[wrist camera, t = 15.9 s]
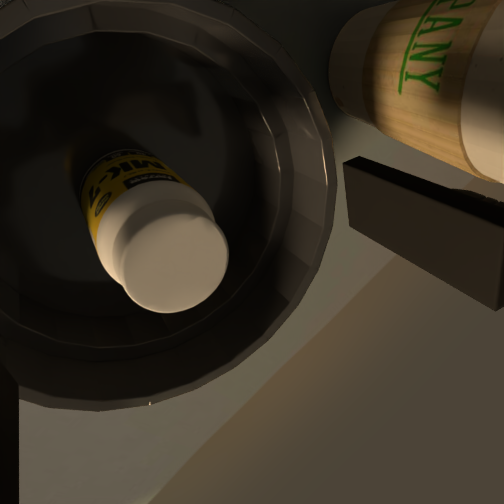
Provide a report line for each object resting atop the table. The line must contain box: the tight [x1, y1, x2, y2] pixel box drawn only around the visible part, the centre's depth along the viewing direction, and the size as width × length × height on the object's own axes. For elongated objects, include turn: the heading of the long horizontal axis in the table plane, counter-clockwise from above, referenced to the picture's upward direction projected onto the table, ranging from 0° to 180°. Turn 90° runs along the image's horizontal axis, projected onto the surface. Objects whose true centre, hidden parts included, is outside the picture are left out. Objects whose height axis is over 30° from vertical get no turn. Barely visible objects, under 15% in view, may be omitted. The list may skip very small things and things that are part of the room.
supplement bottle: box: [79, 149, 229, 313], centre depth 18 cm, size 5×5×8 cm
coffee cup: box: [328, 0, 504, 184], centre depth 20 cm, size 10×10×15 cm
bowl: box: [0, 0, 337, 412], centre depth 20 cm, size 17×17×6 cm
